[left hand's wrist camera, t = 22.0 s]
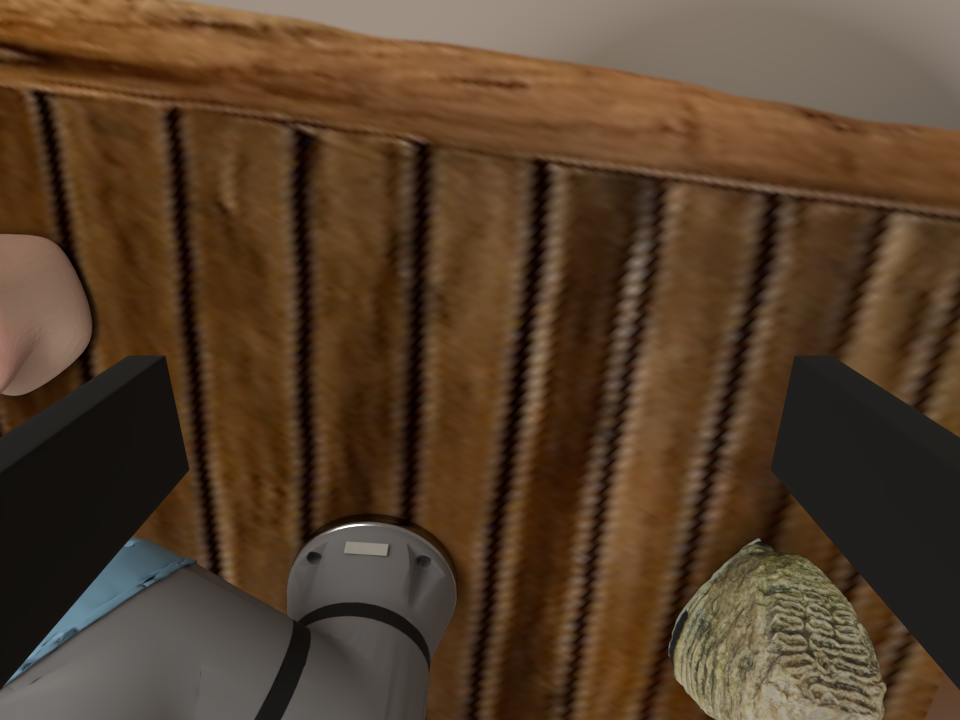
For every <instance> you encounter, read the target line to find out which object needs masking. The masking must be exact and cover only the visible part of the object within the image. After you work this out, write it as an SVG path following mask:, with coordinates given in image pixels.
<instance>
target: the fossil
mask: <svg viewBox="0 0 960 720" xmlns="http://www.w3.org/2000/svg"><path fill="white" fill-rule="evenodd" d="M669 657H670V659H671V661H672V664H673V672H674V677H675V679H676V680H677V681H678V682H679V683H680V684H681V685H682V686H684V688H685V691H686V692H687V693H688V694H689V695H690V696H691V697H692V698H693V699H694V700H695V701H696V702H697V704H698V705H699V706H700V708H701V709H703V710H704V711H705V713H706V714H707V715H709V716H711V717H712V718H714V719H716V720H882V718H883V715H884V710H885V709H884V705H883V697H884V693H885V692H886V690H887V689H886V684H885V683H884V682H883V681H882V679H881V674H880V671H879V663H878V660H877V657H876V654H875V650H874V646H873V643H872V641H871V639H870V637H869V635H868V633H867V631H866V629H865V628H864V627H863V626H862V625H861V623H860V622H859V621H858V618H857V615H856V613H855V611H854V609H853V607H852V605H851V603H849V602H848V601H847V599H846V597H844V596H843V594H842V593H841V592H840V590H839V589H838V588H837V587H836V586H835V585H834V584H833V583H832V582H831V580H830V579H829V578H828V577H827V576H826V575H825V573H824V572H822V571H821V570H820V569H819V568H818V567H817V565H815V564H814V563H812V562H811V561H810V560H809V559H807V558H806V557H803V556H801V555H798V554H787V553H778V552H775V551H774V550H773V548H772V547H771V546H768V545H766V544H763V542H762V541H761V540H760V539H759V538H758V539H756V540H754V541H753V542H751V543H749V544H747V545H746V546H744V547H743V548H742V549H741V550H740V551H739V552H738V553H737V554H736V555H735V556H733V557H732V558H731V559H730V560H728V561H727V562H726V563H724V564H723V566H722V567H721V568H720V569H719V570H717V571H716V572H715V573H714V574H713V576H712V577H711V579H710V580H709V581H707V582H706V583H705V584H704V585H702V586H701V587H700V589H699V590H698V591H697V592H696V594H695V595H694V596H693V597H692V598H691V600H690V601H689V602H688V603H687V605H686V606H685V607H684V609H683V610H682V612H681V613H680V615H679V616H678V618H677V620H676V624H675V627H674V630H673V632H672V639H671V641H670V643H669Z"/></svg>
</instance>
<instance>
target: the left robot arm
mask: <svg viewBox="0 0 960 720" xmlns="http://www.w3.org/2000/svg"><path fill="white" fill-rule="evenodd" d="M188 471H189V466H188V461H187V456H186V452H185V447H184V442H183V438H182V433H181V428H180V423H179V419H178V414H177V409H176V404H175V400H174V395H173V390H172V385H171V381H170V376H169V371H168V367H167V362H166V357H165V356H127V357H126V358H124V359H123V360H121V361H120V362H118V363H116V364H115V365H113V366H112V367H110V368H109V369H107V370H105V371H104V372H102V373H101V374H99V375H98V376H96V377H95V378H93V379H91V380H90V381H88V382H87V383H85V384H84V385H82V386H80V387H79V388H77V389H76V390H74V391H73V392H71V393H69V394H68V395H66V396H65V397H63V398H62V399H60V400H59V401H57V402H55V403H54V404H52V405H51V406H49V407H48V408H46V409H44V410H43V411H41V412H40V413H38V414H37V415H35V416H33V417H32V418H30V419H29V420H27V421H26V422H24V423H23V424H21V425H19V426H18V427H16V428H15V429H13V430H12V431H10V432H8V433H7V434H5V435H4V436H2V437H1V438H0V720H425V718H426V706H427V695H428V683H429V670H430V662H431V659H432V657H433V655H434V653H435V651H436V649H437V647H438V645H439V643H440V641H441V639H442V637H443V635H444V633H445V631H446V629H447V627H448V625H449V623H450V621H451V618H452V615H453V613H454V610H455V605H456V597H457V576H456V571H455V567H454V564H453V562H452V559H451V558H450V556H449V554H448V552H447V551H446V550H445V548H444V547H443V546H442V545H441V543H440V542H439V541H438V540H437V539H436V538H435V537H433V536H432V535H431V534H430V533H428V532H427V531H425V530H424V529H422V528H421V527H419V526H417V525H415V524H413V523H411V522H408V521H406V520H403V519H400V518H396V517H392V516H387V515H379V514H360V515H353V516H347V517H344V518H340V519H337V520H334V521H332V522H330V523H328V524H326V525H324V526H322V527H321V528H319V529H318V530H316V531H315V532H314V533H313V534H312V535H310V536H309V537H308V538H307V540H306V541H305V542H304V543H303V545H302V546H301V548H300V549H299V551H298V553H297V555H296V558H295V560H294V562H293V565H292V567H291V570H290V573H289V577H288V585H287V615H285V614H283V613H282V612H280V611H278V610H276V609H274V608H273V607H271V606H269V605H267V604H266V603H264V602H262V601H260V600H258V599H257V598H255V597H253V596H251V595H249V594H248V593H246V592H244V591H242V590H241V589H239V588H237V587H236V586H234V585H232V584H230V583H229V582H227V581H225V580H224V579H222V578H220V577H218V576H217V575H215V574H213V573H212V572H210V571H208V570H207V569H205V568H203V567H201V566H200V565H198V564H197V561H196V560H195V559H193V558H184V557H182V556H180V555H178V554H176V553H174V552H171V551H169V550H167V549H165V548H163V547H161V546H159V545H157V544H156V543H154V542H152V541H149V540H146V539H142V538H131V537H132V536H133V535H134V534H135V532H136V531H137V530H138V529H139V528H140V527H141V525H142V524H143V523H144V522H145V521H146V520H147V518H148V517H149V516H150V515H151V514H152V513H153V512H154V510H155V509H156V508H157V507H158V506H159V505H160V503H161V502H162V501H163V500H164V499H165V498H166V496H167V495H168V494H169V493H170V492H171V491H172V489H173V488H174V487H175V486H176V485H177V484H178V482H179V481H180V480H181V479H182V478H183V477H184V475H185V474H186V473H187V472H188ZM771 471H772V472H773V473H774V474H775V475H776V477H777V478H778V479H779V480H780V481H781V482H782V484H783V485H784V486H785V487H786V488H787V489H788V491H789V492H790V493H791V494H792V495H793V496H794V498H795V499H796V500H797V501H798V502H799V503H800V505H801V506H802V507H803V508H804V509H805V510H806V512H807V513H808V514H809V515H810V516H811V517H812V518H813V520H814V521H815V522H816V523H817V524H818V525H819V527H820V528H821V529H822V530H823V531H824V532H825V534H826V535H827V536H828V537H829V538H830V539H831V541H832V542H833V543H834V544H835V545H836V546H837V548H838V549H839V550H840V551H841V552H842V553H843V555H844V556H845V557H846V558H847V559H848V560H849V562H850V563H851V564H852V565H853V566H854V567H855V569H856V570H857V571H858V572H859V573H860V574H861V576H862V577H863V578H864V579H865V580H866V581H867V583H868V584H869V585H870V586H871V587H872V588H873V590H874V591H875V592H876V593H877V594H878V595H879V597H880V598H881V599H882V600H883V601H884V602H885V604H886V605H887V606H888V607H889V608H890V609H891V611H892V612H893V613H894V614H895V615H896V616H897V618H898V619H899V620H900V621H901V622H902V623H903V625H904V626H905V627H906V628H907V629H908V630H909V632H910V633H911V634H912V635H913V636H914V637H915V638H916V640H917V641H918V642H919V643H920V644H921V645H922V647H923V648H924V649H925V650H926V651H927V652H928V654H929V655H930V656H931V657H932V658H933V659H934V661H935V662H936V663H937V664H938V665H939V666H940V668H941V669H942V670H943V671H944V672H945V673H946V675H947V676H948V677H949V678H950V679H951V680H952V682H953V683H954V684H955V685H956V686H957V687H958V689H959V690H960V438H959V437H958V436H956V435H955V434H953V433H952V432H950V431H948V430H947V429H945V428H944V427H942V426H941V425H939V424H937V423H936V422H934V421H933V420H931V419H930V418H928V417H927V416H925V415H923V414H922V413H920V412H919V411H917V410H916V409H914V408H912V407H911V406H909V405H908V404H906V403H905V402H903V401H901V400H900V399H898V398H897V397H895V396H894V395H892V394H891V393H889V392H887V391H886V390H884V389H883V388H881V387H880V386H878V385H876V384H875V383H873V382H872V381H870V380H869V379H867V378H865V377H864V376H862V375H861V374H859V373H858V372H856V371H855V370H853V369H851V368H850V367H848V366H847V365H845V364H844V363H842V362H840V361H839V360H837V359H836V358H834V357H833V356H795V357H794V362H793V366H792V371H791V376H790V381H789V385H788V390H787V395H786V400H785V404H784V409H783V414H782V419H781V423H780V428H779V433H778V438H777V442H776V447H775V452H774V456H773V461H772V466H771Z"/></svg>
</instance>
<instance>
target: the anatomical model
mask: <svg viewBox="0 0 960 720" xmlns="http://www.w3.org/2000/svg"><path fill="white" fill-rule="evenodd" d="M91 335H92V317H91V312H90V307H89V304H88V300H87V297H86V294H85V292H84V289H83V287H82V284H81V282H80V280H79V278H78V275H77V273H76V271H75V269H74V267H73V266H72V264H71V262H70V260H69V259H68V257H67V255H66V254H65V253H64V252H63V250H62V249H61V248H60V247H59V246H58V245H57V244H55V243H54V242H53V241H51V240H49V239H46V238H43V237H39V236H32V235H17V234H0V394H1V393H2V394H5V395H12V396H16V395H23V394H26V393H28V392H31V391H33V390H35V389H37V388H39V387H40V386H42V385H44V384H45V383H47V382H48V381H50V380H51V379H53V378H54V377H56V376H57V375H58V374H60V373H61V372H62V371H63V370H65V369H66V368H67V367H68V366H70V365H71V364H72V363H73V362H74V361H75V360H76V359H77V358H78V357H79V356H80V355H81V354H82V353H83V351H84V350H85V349H86V347H87V345H88V344H89V341H90V339H91Z"/></svg>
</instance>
